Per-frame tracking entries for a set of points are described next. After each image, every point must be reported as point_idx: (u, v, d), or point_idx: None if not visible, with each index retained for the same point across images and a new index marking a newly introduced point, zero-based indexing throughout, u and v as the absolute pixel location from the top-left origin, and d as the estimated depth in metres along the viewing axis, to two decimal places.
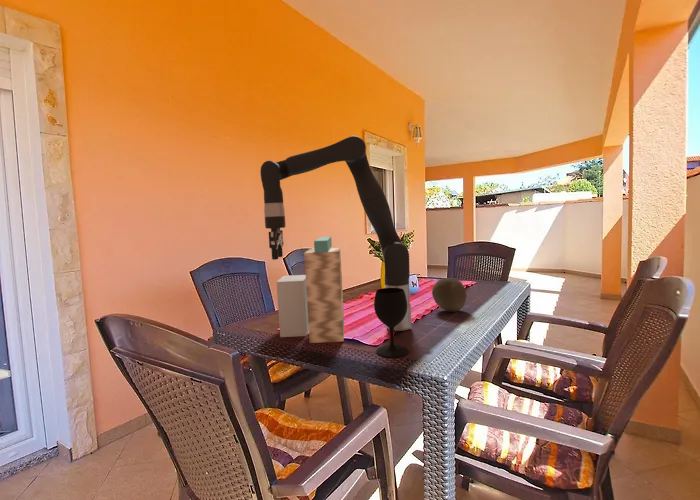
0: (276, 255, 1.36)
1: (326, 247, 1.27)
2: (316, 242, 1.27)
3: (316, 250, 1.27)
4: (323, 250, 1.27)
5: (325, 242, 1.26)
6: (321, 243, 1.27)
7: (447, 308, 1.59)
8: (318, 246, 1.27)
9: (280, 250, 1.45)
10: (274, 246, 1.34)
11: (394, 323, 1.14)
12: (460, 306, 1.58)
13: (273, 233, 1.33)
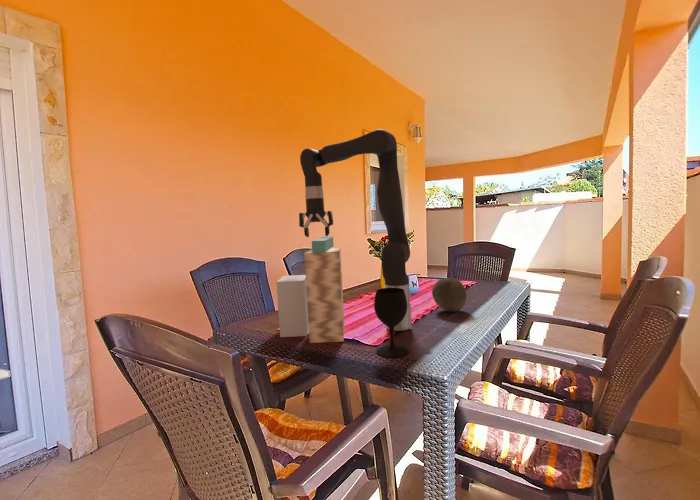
0: None
1: (324, 247, 1.27)
2: (314, 242, 1.27)
3: (314, 250, 1.27)
4: (321, 250, 1.27)
5: (323, 242, 1.27)
6: (319, 243, 1.27)
7: (447, 308, 1.59)
8: (316, 246, 1.27)
9: (308, 230, 1.58)
10: (332, 223, 1.55)
11: (394, 323, 1.14)
12: (460, 306, 1.58)
13: (331, 212, 1.55)
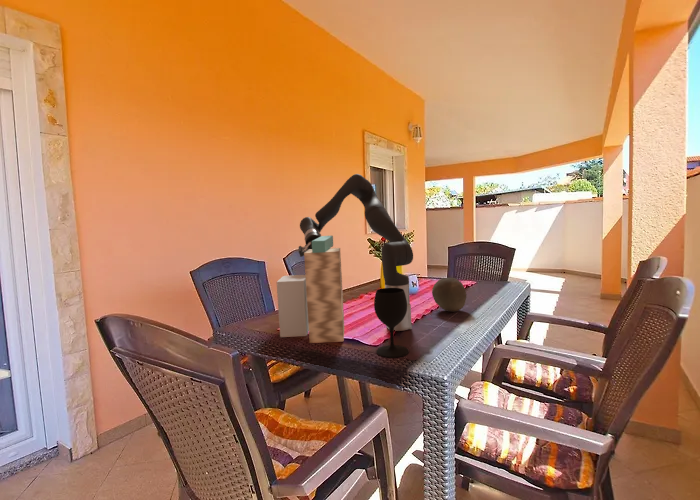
0: None
1: (324, 247, 1.27)
2: (314, 242, 1.27)
3: (314, 250, 1.27)
4: (321, 250, 1.27)
5: (323, 242, 1.27)
6: (319, 243, 1.27)
7: (447, 308, 1.59)
8: (316, 246, 1.27)
9: None
10: None
11: (394, 323, 1.14)
12: (460, 306, 1.58)
13: None
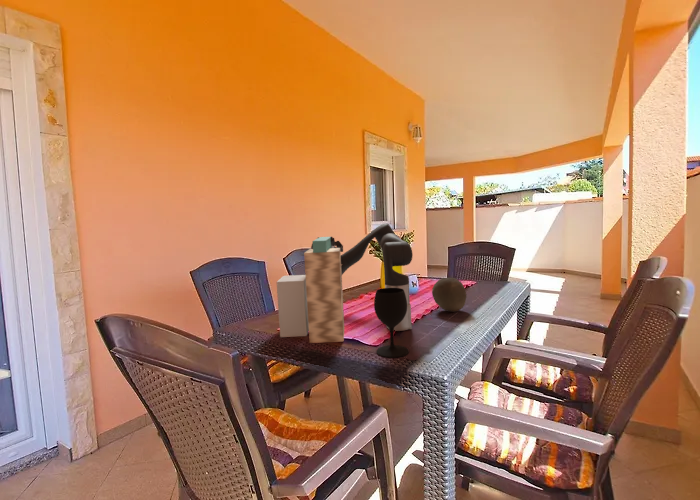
0: (333, 241, 1.47)
1: (324, 247, 1.27)
2: (314, 242, 1.27)
3: (314, 250, 1.27)
4: (321, 250, 1.27)
5: (323, 242, 1.27)
6: (319, 243, 1.27)
7: (447, 308, 1.59)
8: (316, 246, 1.27)
9: None
10: (339, 245, 1.50)
11: (394, 323, 1.14)
12: (460, 306, 1.58)
13: (342, 249, 1.54)
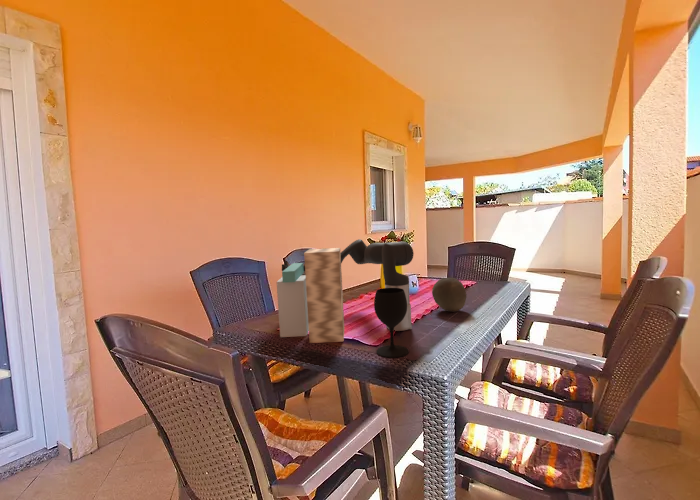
0: None
1: (293, 277, 1.35)
2: (284, 273, 1.34)
3: (284, 280, 1.35)
4: (291, 280, 1.35)
5: (292, 273, 1.34)
6: (289, 274, 1.34)
7: (447, 308, 1.59)
8: (286, 276, 1.35)
9: (288, 266, 1.56)
10: None
11: (394, 323, 1.14)
12: (460, 306, 1.58)
13: None
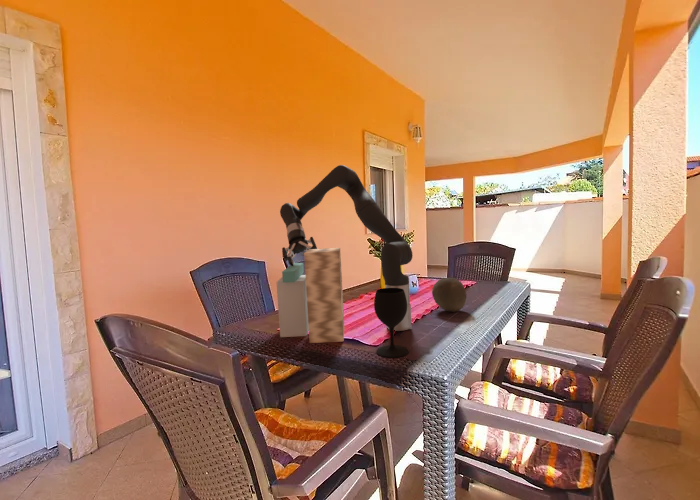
0: None
1: (293, 277, 1.35)
2: (284, 273, 1.34)
3: (284, 280, 1.35)
4: (291, 280, 1.35)
5: (292, 273, 1.34)
6: (289, 273, 1.34)
7: (447, 308, 1.59)
8: (286, 276, 1.35)
9: (292, 260, 1.51)
10: (316, 247, 1.53)
11: (394, 323, 1.14)
12: (460, 306, 1.58)
13: None
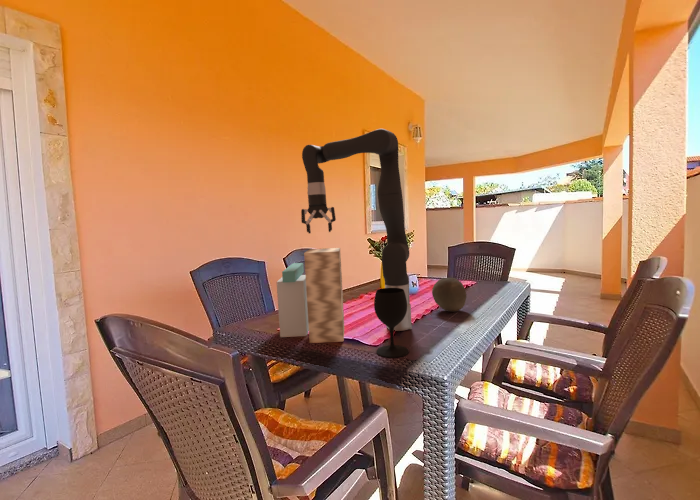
0: None
1: (293, 277, 1.35)
2: (284, 273, 1.35)
3: (284, 280, 1.35)
4: (291, 280, 1.35)
5: (292, 273, 1.34)
6: (289, 273, 1.35)
7: (447, 308, 1.59)
8: (286, 276, 1.35)
9: None
10: (335, 219, 1.57)
11: (394, 323, 1.14)
12: (460, 306, 1.58)
13: None
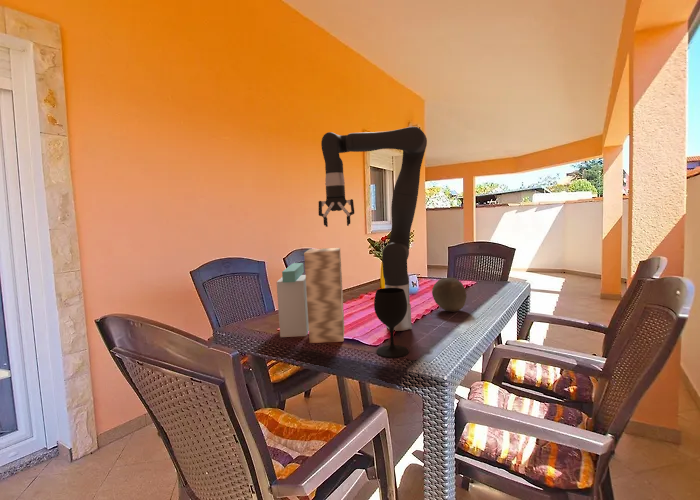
0: None
1: (293, 277, 1.35)
2: (284, 273, 1.35)
3: (284, 280, 1.35)
4: (291, 280, 1.35)
5: (292, 273, 1.34)
6: (289, 273, 1.35)
7: (447, 308, 1.59)
8: (286, 276, 1.35)
9: None
10: None
11: (394, 323, 1.14)
12: (460, 306, 1.58)
13: None
